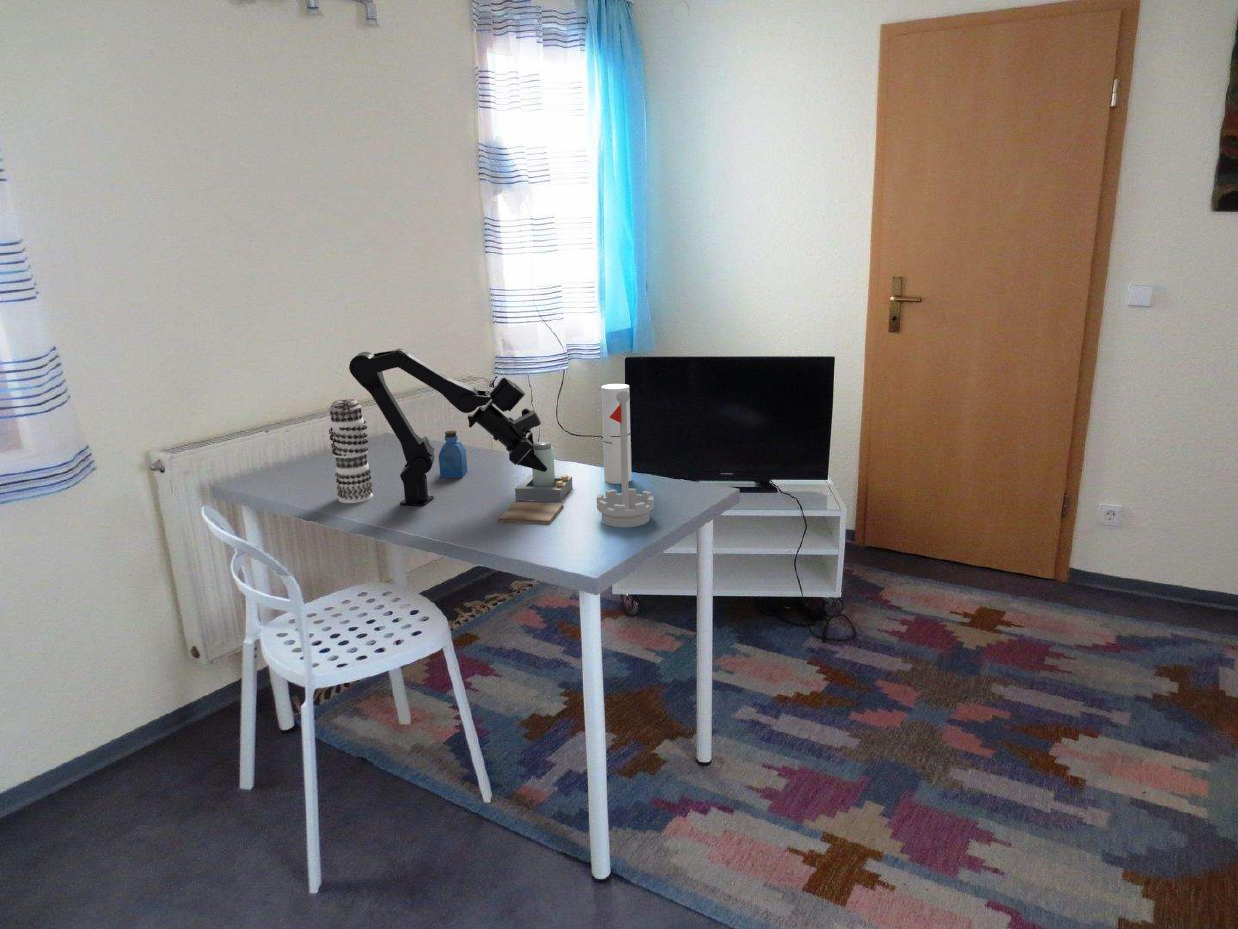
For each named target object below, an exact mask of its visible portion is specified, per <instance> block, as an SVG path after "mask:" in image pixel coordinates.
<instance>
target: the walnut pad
mask: <svg viewBox="0 0 1238 929" xmlns="http://www.w3.org/2000/svg"><path fill="white" fill-rule="evenodd" d="M563 509H564V503H553V502H552V503H549V502H548V503H547V502H529V501H528V502H527V501H526V502H524V501H522V502H521V501H515V502H514V503H513V504H512V505H511V506H509V507H508V509H507V510H505V511H504V513H503V514H502V515H501V516H500V517H499V518H498V522H499V521H502V522H501V523H516V522H524V523H523V524H538V523H543V524H542V525H550V524H551V523H552V522H553V521H554V519H555V518H556V517H557V516H558V514H559V513H560V512H561V511H562V510H563ZM560 510H561V511H560ZM556 515H557V516H556ZM555 516H556V517H555ZM503 521H504V522H503ZM551 521H552V522H551ZM526 522H527V523H526ZM550 522H551V523H550Z"/></svg>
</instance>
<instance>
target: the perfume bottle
mask: <svg viewBox="0 0 1238 929" xmlns="http://www.w3.org/2000/svg"><path fill="white" fill-rule="evenodd" d="M444 434H445V435H444V442H445V443H444V444H443V445H442V446H441V449H440V452H439V454H438V465H439V468H438V469H439V474H440V475H439V477H440V478H441V479H444V478H445V479H447V478H448V479H449V478H452V479H453V478H464V477H465V476H466V474H467V473H468V461H467V449H466V448H465V447H464V446H465V445H463V444H462V442H461V441H458V435H457V430H446V431H444Z"/></svg>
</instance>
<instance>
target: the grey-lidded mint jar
mask: <svg viewBox="0 0 1238 929" xmlns="http://www.w3.org/2000/svg"><path fill="white" fill-rule="evenodd" d="M533 445H534V453H535V454H536V455H537V457H538V458H539V459H540V460H541V461H542V462H543V464H544V465H545V466H546V467H547V470H546V472H543V471H539V470H536V469H532V468H531V469H532V470H531V471H532V475H533V487H555V476H556V474H555V473H556V472H555V454H554V452H555V451H554V446H552V443H551V442H550V441H538V442H534V444H533Z"/></svg>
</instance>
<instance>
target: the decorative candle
mask: <svg viewBox="0 0 1238 929" xmlns="http://www.w3.org/2000/svg"><path fill="white" fill-rule="evenodd" d="M362 407H363V405H362V404H360V403H359V402H358V400H356V399H352V398H345V399H338V400H335V401H333V402H332V403H331V405H330V406H329V407H328V408H327V409H328V410H329V412H330V413H329V416H330V420H329V422H330V428H329V430H328V434H329V440H330V441H331V442H332V443H331V445H330V447H331V448H332V449H331V450H332V452H331V454H332V455H333V457H335V463H336V465H335V471H336V472H335V475H334V476H335V477H336V479H335V482H336V483H337V485H336V490H337V496H338V501H339V502H340V503H344V504H356V503H362V502H367V501H369V500H371V499H372V498H374V494H373V491H374V489H373V487H372V486H373V482H372V481H371V479H372V475H370V474H371V471H372V470H371V469H370V468H369V467H370V466H369V462H368V456H367V454H368V453H369V447H366V444H368V443H369V440H368V439H366V438H367V437H368V434H367V433H366V432H364V431H365V430H367V429H368V426H367V425H365V424H366V423H367V421H366V420H364V416H363V411H362Z"/></svg>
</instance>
